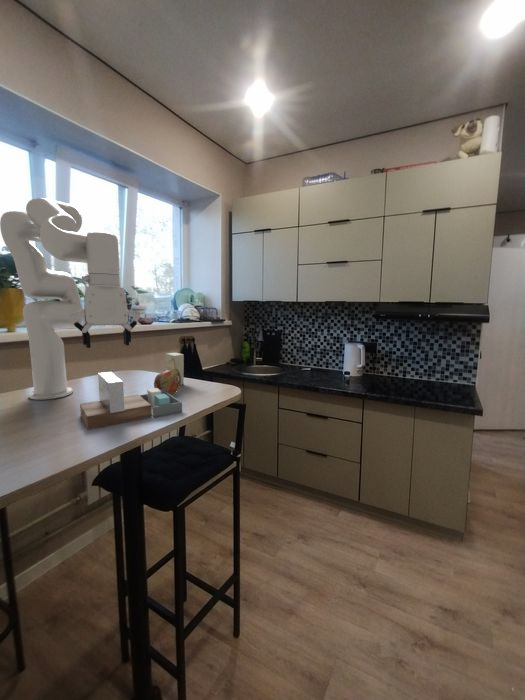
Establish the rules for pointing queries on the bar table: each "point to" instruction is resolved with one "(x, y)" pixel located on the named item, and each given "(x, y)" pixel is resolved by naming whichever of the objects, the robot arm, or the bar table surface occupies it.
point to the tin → (168, 381)
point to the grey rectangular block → (111, 391)
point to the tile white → (152, 395)
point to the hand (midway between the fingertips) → (107, 346)
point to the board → (100, 416)
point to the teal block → (161, 399)
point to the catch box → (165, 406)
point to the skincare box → (176, 363)
